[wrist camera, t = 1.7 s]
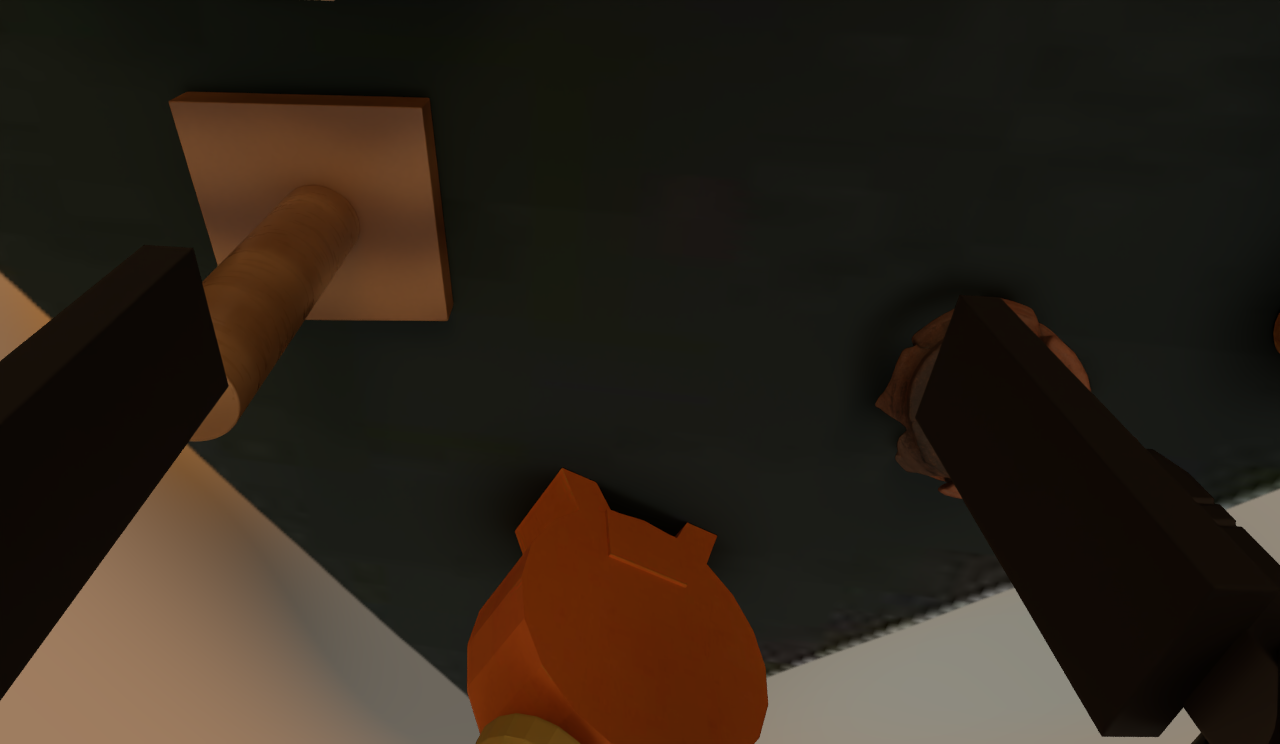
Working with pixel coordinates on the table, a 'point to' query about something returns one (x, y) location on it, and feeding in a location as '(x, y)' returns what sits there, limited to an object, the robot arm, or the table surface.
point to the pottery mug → (913, 380)
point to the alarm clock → (612, 635)
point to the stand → (311, 221)
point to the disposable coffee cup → (1277, 333)
